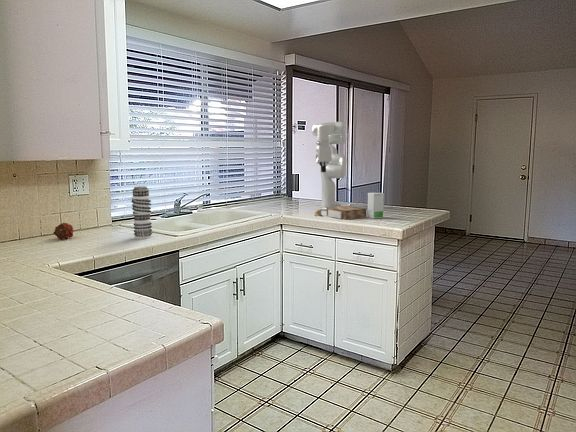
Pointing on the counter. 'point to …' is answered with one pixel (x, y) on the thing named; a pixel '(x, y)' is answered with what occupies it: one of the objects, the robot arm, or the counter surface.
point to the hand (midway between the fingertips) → (323, 172)
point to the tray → (335, 214)
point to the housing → (349, 212)
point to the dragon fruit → (63, 231)
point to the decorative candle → (141, 212)
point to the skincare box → (375, 205)
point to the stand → (317, 212)
